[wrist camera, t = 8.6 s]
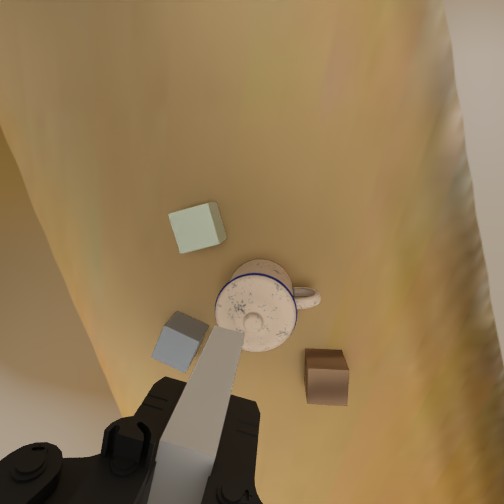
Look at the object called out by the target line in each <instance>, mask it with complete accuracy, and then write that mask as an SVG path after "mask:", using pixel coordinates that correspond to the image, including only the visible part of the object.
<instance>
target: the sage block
mask: <svg viewBox="0 0 504 504" xmlns="http://www.w3.org/2000/svg"><path fill="white" fill-rule="evenodd" d="M168 216H169V219H170V222H171V225H172V229H173V232H174V235H175V238H176V242H177V245H178V248H179V251H180V254H183V253H187V252H191V251H194V250H198V249H202V248H206V247H210V246H214V245H218V244H220V243H222V242H223V241H224V240H225V239H227V237H226V233H225V230H224V226H223V223H222V219H221V216H220V212H219V208H218V205H217V202H211V203H206V204H202V205H198V206H195V207H191V208H187V209H184V210H180V211H177V212H173V213H169V214H168Z"/></svg>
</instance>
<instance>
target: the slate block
mask: <svg viewBox="0 0 504 504" xmlns="http://www.w3.org/2000/svg"><path fill="white" fill-rule="evenodd" d="M208 327H209V325H207V324H205V323H203V322H200V321H198V320H196V319H194V318H192V317H190V316H188V315H185V314H183V313H181V312H179V311H177V312H176V313H175V314H174V315H173V316H172V317H171V319H170V320H169V321H168V322H167V323H166V324H165V325H164V327H163V330H162V332H161V335H160V337H159V339H158V342H157V344H156V347H155V349H154V351H153V354H152V356H151V357H152V358H154V359H156V360H158V361H160V362H162V363H165V364H167V365H169V366H171V367H173V368H175V369H177V370H179V371H182V372H184V373H186V372H187V370H188V368H189V366H190V364H191V362H192V361H193V359H194V357H195V355H196V353H197V351H198V349H199V346H200V344H201V342H202V340H203V338H204V335H205V333H206V331H207V329H208Z"/></svg>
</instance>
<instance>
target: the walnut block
mask: <svg viewBox="0 0 504 504" xmlns="http://www.w3.org/2000/svg"><path fill="white" fill-rule="evenodd" d="M304 381H305V390H306V398H307V404H319V405H335V406H347V400H348V384H349V368H348V366H347V363H346V360H345V358H344V355H343V353H342V350H328V349H305V376H304Z"/></svg>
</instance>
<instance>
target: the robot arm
mask: <svg viewBox="0 0 504 504" xmlns="http://www.w3.org/2000/svg"><path fill="white" fill-rule="evenodd" d="M244 337H245V334H244V333H240V332H237V331H233V330H230V329H226V328H223V327H219V326H215V325H214V328H213V330H212V332H211V334H210V336H209V338H208V340H207V342H206V344H205V346H204V349H203V351H202V353H201V355H200V357H199V359H198V361H197V363H196V365H195V367H194V370H193V372H192V374H191V376H190V378H189V380H188V382H187V383H186V382H183V381H179V380H176V379H172V378H169V377H166V376H165V377H164V378H162V379H161V380H159V381H158V382H156V383H155V384H154V385H153V387H152V388H151V390H150V391H149V393H148V395H147V396H146V397H145V399H144V401H143V402H142V404H141V405H140V407H139V408H138V410H137V412H136V413H135V415H134V416H130V417H124V418H120V419H119V420H116V421H115V422H112V423H111V424H110V425H109V426H108V427H107V428H106V429H105V431H104V437H103V443H102V449H101V454H98V455H95V456H91V457H84V458H63V457H62V452H61V450H60V449H59V448H58V447H57V446H56V445H53V444H50V443H47V442H44V443H43V442H42V443H33V444H29V445H26V446H23V447H21V448H19V449H17V450H16V451H14V452H12V453H10V454H9V455H7V456H6V457H5V458H3V459H2V460H1V461H0V504H263V503H262V502H261V501H260V499H259V497H258V495H257V492H256V488H255V479H254V478H255V466H256V455H257V444H258V433H259V422H260V412H259V409H258V406H257V404H256V402H255V401H251V400H248V399H245V398H241V397H238V396H234V395H231V391H232V387H233V383H234V378H235V374H236V370H237V366H238V362H239V358H240V354H241V349H242V345H243V341H244Z"/></svg>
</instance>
